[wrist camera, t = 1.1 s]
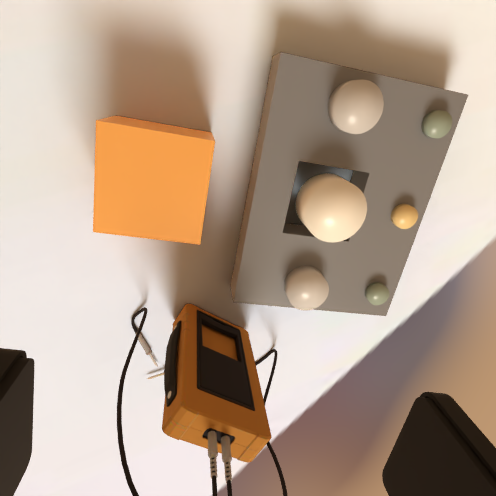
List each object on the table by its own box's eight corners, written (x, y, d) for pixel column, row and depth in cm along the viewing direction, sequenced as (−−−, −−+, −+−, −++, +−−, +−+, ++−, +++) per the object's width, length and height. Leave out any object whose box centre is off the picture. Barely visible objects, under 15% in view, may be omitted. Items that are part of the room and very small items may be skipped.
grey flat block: (272, 56, 28) (285, 49, 24) (443, 94, 31) (482, 94, 26) (230, 286, 35) (234, 311, 31) (372, 299, 38) (393, 324, 34)
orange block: (115, 115, 28) (96, 120, 22) (211, 132, 29) (214, 140, 24) (111, 207, 31) (93, 231, 25) (199, 219, 32) (200, 244, 27)
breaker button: (303, 168, 29) (314, 176, 26) (358, 178, 30) (375, 186, 27) (289, 225, 31) (298, 238, 28) (342, 232, 31) (356, 245, 29)
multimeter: (104, 360, 36) (12, 627, 18) (151, 283, 34) (100, 503, 16) (228, 408, 41) (254, 659, 23) (278, 343, 38) (353, 568, 20)
